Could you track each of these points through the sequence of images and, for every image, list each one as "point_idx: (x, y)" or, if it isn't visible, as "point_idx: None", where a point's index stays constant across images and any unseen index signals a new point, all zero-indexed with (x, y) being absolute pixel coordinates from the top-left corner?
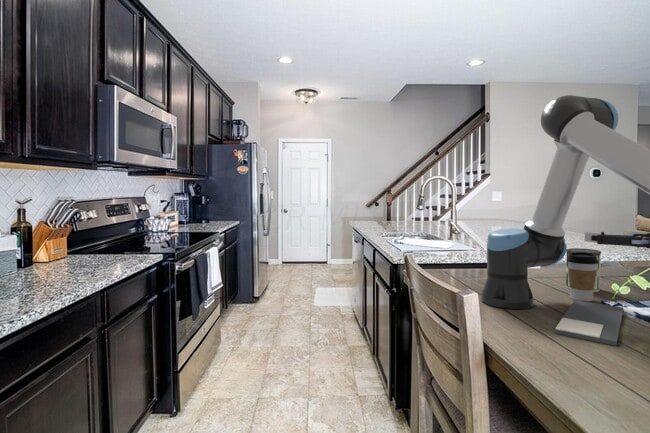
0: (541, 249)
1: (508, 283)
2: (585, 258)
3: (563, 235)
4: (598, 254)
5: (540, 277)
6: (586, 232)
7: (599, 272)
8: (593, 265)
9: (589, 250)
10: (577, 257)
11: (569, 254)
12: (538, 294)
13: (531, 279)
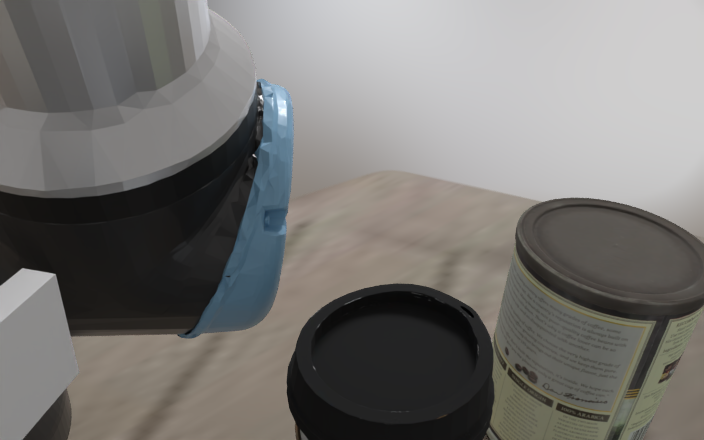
0: None
1: None
2: (325, 413)
3: (110, 189)
4: (663, 315)
5: (507, 258)
6: (2, 286)
7: (641, 406)
8: None
9: (662, 251)
10: (295, 373)
11: (329, 305)
12: (237, 412)
13: (443, 264)
